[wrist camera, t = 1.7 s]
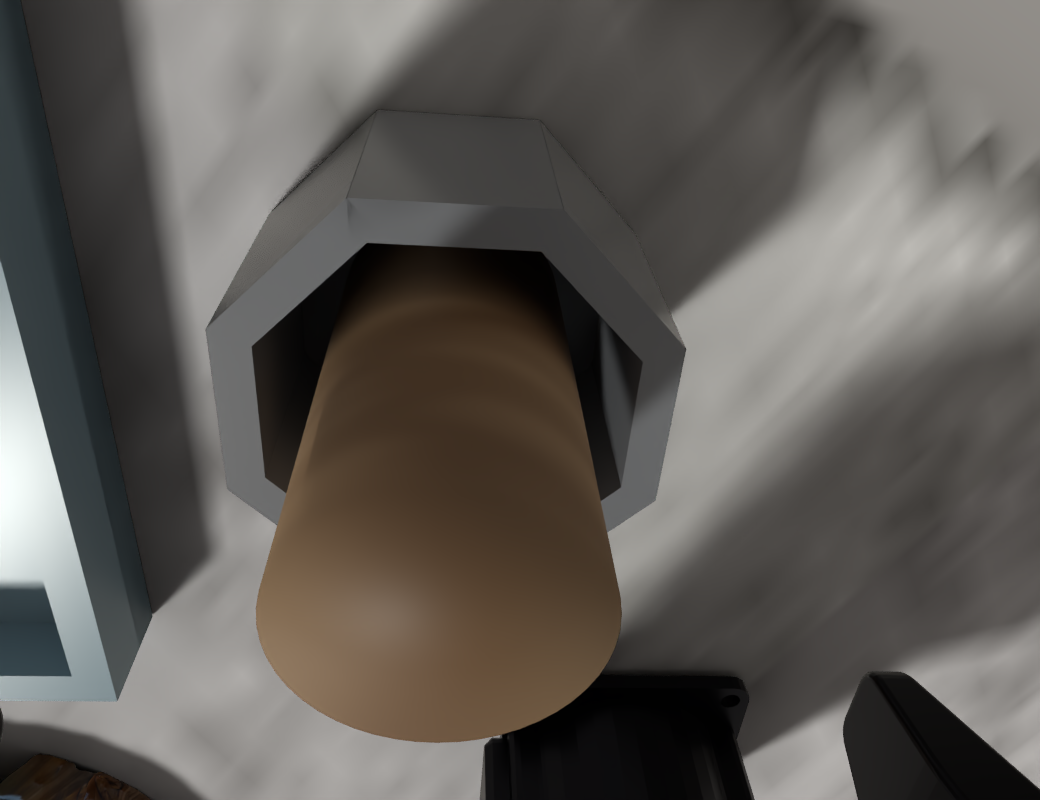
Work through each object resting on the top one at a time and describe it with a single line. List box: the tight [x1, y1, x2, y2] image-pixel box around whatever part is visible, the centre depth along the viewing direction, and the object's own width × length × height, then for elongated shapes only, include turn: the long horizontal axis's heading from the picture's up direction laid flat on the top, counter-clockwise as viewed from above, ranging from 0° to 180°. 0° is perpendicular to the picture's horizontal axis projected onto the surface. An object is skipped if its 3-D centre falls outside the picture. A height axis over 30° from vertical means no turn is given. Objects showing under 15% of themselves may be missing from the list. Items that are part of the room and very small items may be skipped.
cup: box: [206, 110, 686, 532], centre depth 15 cm, size 7×7×4 cm
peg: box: [256, 243, 622, 743], centre depth 13 cm, size 4×4×8 cm
